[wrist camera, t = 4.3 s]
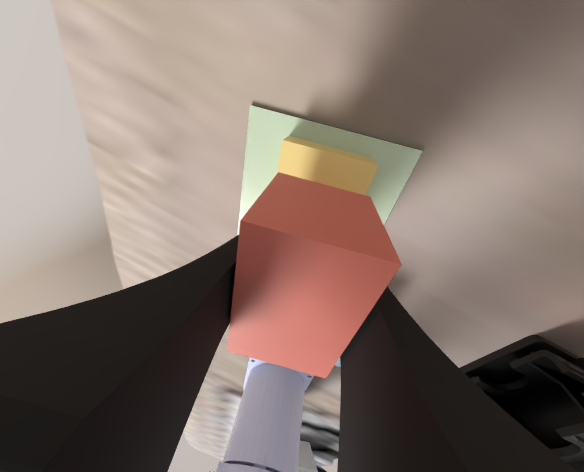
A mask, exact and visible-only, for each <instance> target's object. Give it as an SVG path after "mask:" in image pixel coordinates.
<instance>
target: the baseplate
mask: <svg viewBox="0 0 584 472" xmlns="http://www.w3.org/2000/svg"><path fill="white" fill-rule="evenodd" d="M288 136H292V137H296V138H300V139H304V140H307V141H311V142H315V143H319V144H322V145H326V146H330V147H334V148H337V149H341V150H345V151H349V152H352V153H356V154H360V155H364V156H367V157H371V158H372V159H373V160H374V161H375V162H376V163H377V164H378V168H377V170H376V173H375V175H374V177H373V180H372V182H371V184H370V186H369V189H368V191H367V193H366V195H365V196H369V197H371V199H372V201H373V203H374V206H375V208H376V210H377V212H378V214H379V216H380V219H381V221H382V223H383V225H384V223H385V221H386V220H387V218H388V216H389V214H390V212H391V210H392V208H393V206H394V205H395V203H396V201H397V199H398V197H399V195H400V193H401V191H402V189H403V188H404V186H405V184H406V182H407V180H408V178H409V176H410V174H411V172H412V171H413V169H414V167H415V165H416V163H417V161H418V159H419V157H420V156H421V154H422V152H423V151H422V150H418V149H414V148H410V147H407V146H403V145H399V144H395V143H392V142H388V141H384V140H380V139H376V138H373V137H369V136H365V135H361V134H358V133H354V132H350V131H346V130H343V129H339V128H335V127H331V126H328V125H324V124H320V123H316V122H313V121H309V120H305V119H301V118H298V117H294V116H290V115H286V114H283V113H279V112H275V111H271V110H268V109H264V108H260V107H256V106H253V105H250V110H249V120H248V131H247V141H246V151H245V162H244V172H243V183H242V193H241V203H240V214H239V224H238V235H239V229H240V220H241V219H242V218H243V216H244V215H245V214H246V213H247V211H248V210H249V209H250V207H251V206H252V205H253V204H254V202H255V201H256V200H257V199H258V197H259V196H260V195H261V194H262V192H263V191H264V190H265V188H266V187H267V186H268V185H269V183H270V182H271V181H272V180H273V178H274V177H275V176H276V174H277V169H278V163H279V158H280V152H281V147H282V141H283V139H285V138H286V137H288Z"/></svg>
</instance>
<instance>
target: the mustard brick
mask: <svg viewBox="0 0 584 472" xmlns="http://www.w3.org/2000/svg"><path fill="white" fill-rule="evenodd" d="M377 168H378V164H377V163H376V162H375V161H374V160H373V159H372V158H371V157H367V156H364V155H360V154H356V153H352V152H349V151H345V150H341V149H337V148H334V147H330V146H326V145H322V144H319V143H315V142H311V141H307V140H304V139H300V138H296V137H292V136H288V137H286V138H285V139H283V141H282V147H281V152H280V158H279V163H278V169H277V173H278V172H280V173H284V174H287V175H291V176H295V177H299V178H302V179H306V180H310V181H313V182H317V183H321V184H325V185H328V186H332V187H336V188H339V189H343V190H347V191H351V192H354V193H358V194H362V195H366V193H367V191H368V189H369V186H370V184H371V182H372V180H373V177H374V175H375V173H376V170H377Z"/></svg>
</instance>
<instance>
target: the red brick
mask: <svg viewBox="0 0 584 472" xmlns="http://www.w3.org/2000/svg"><path fill="white" fill-rule="evenodd" d="M400 266H401V262H400V260H399V258H398V255H397V253H396V251H395V249H394V247H393V245H392V242H391V240H390V238H389V236H388V234H387V232H386V229H385V227H384V225H383V223H382V221H381V219H380V216H379V214H378V212H377V210H376V208H375V206H374V203H373V201H372V199H371V197H369V196H365V195H362V194H358V193H354V192H351V191H347V190H343V189H339V188H336V187H332V186H328V185H325V184H321V183H317V182H313V181H310V180H306V179H302V178H299V177H295V176H291V175H287V174H284V173H280V172H278V173H277V174H276V176H275V177H274V178H273V180H272V181H271V182H270V183H269V185H268V186H267V187H266V188H265V190H264V191H263V192H262V194H261V195H260V196H259V197H258V199H257V200H256V201H255V202H254V204H253V205H252V206H251V207H250V209H249V210H248V211H247V213H246V214H245V215H244V216H243V218H242V219H241V220H240V229H239V239H238V249H237V259H236V269H235V279H234V289H233V299H232V309H231V319H230V329H229V339H228V349H227V351H229V352H232V353H236V354H240V355H243V356H247V357H250V358H254V359H257V360H261V361H265V362H268V363H272V364H275V365H279V366H283V367H286V368H290V369H293V370H297V371H300V372H304V373H308V374H311V375H315V376H318V377H322V378H325V379H326V377H327V376H328V374H329V373H330V371H331V370H332V368H333V367H334V365H335V364H336V362H337V361H338V359H339V358H340V356H341V355H342V353H343V352H344V350H345V349H346V347H347V346H348V344H349V343H350V341H351V340H352V338H353V337H354V335H355V334H356V332H357V331H358V329H359V328H360V326H361V325H362V323H363V322H364V320H365V319H366V317H367V316H368V314H369V313H370V311H371V310H372V308H373V307H374V305H375V304H376V302H377V301H378V299H379V298H380V296H381V295H382V293H383V292H384V290H385V289H386V287H387V286H388V284H389V283H390V281H391V279H392V278H393V276H394V275H395V273H396V272H397V270H398V269H399V267H400Z"/></svg>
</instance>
